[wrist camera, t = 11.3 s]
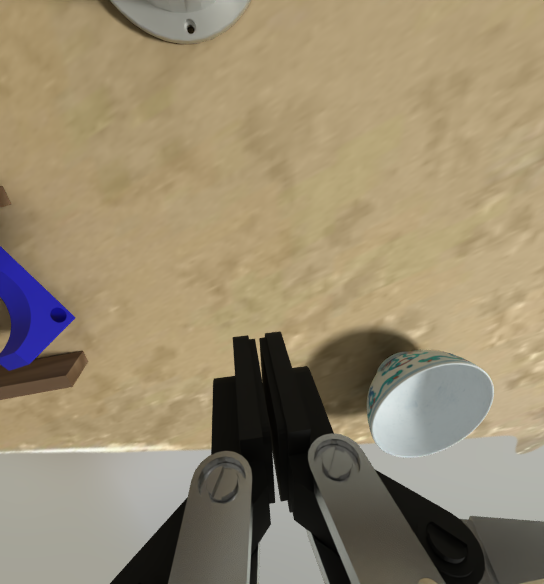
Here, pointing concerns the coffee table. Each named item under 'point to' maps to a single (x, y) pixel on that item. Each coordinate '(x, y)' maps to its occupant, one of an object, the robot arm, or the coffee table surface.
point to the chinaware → (426, 402)
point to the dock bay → (40, 366)
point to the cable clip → (28, 314)
